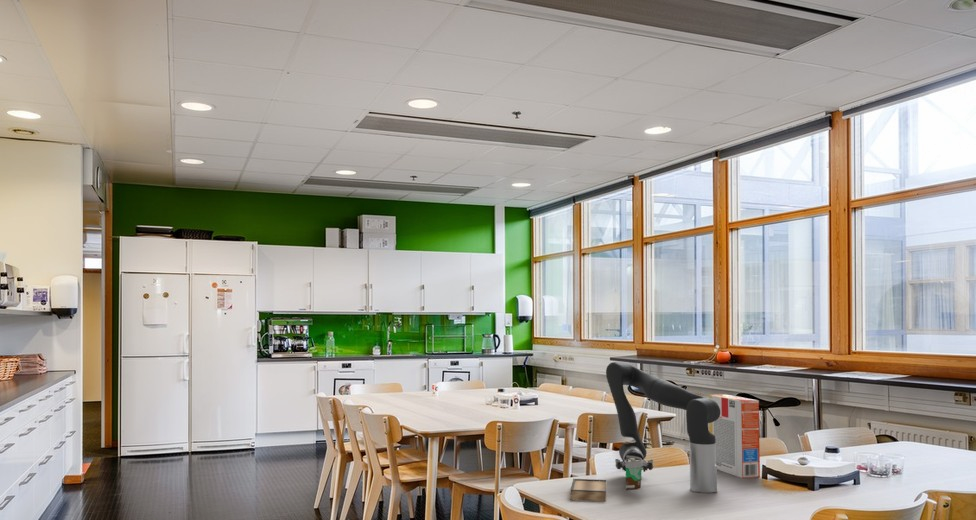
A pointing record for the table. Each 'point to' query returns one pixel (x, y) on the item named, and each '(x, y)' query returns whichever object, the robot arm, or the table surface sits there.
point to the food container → (633, 472)
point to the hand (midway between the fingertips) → (634, 468)
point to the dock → (588, 490)
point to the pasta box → (737, 435)
